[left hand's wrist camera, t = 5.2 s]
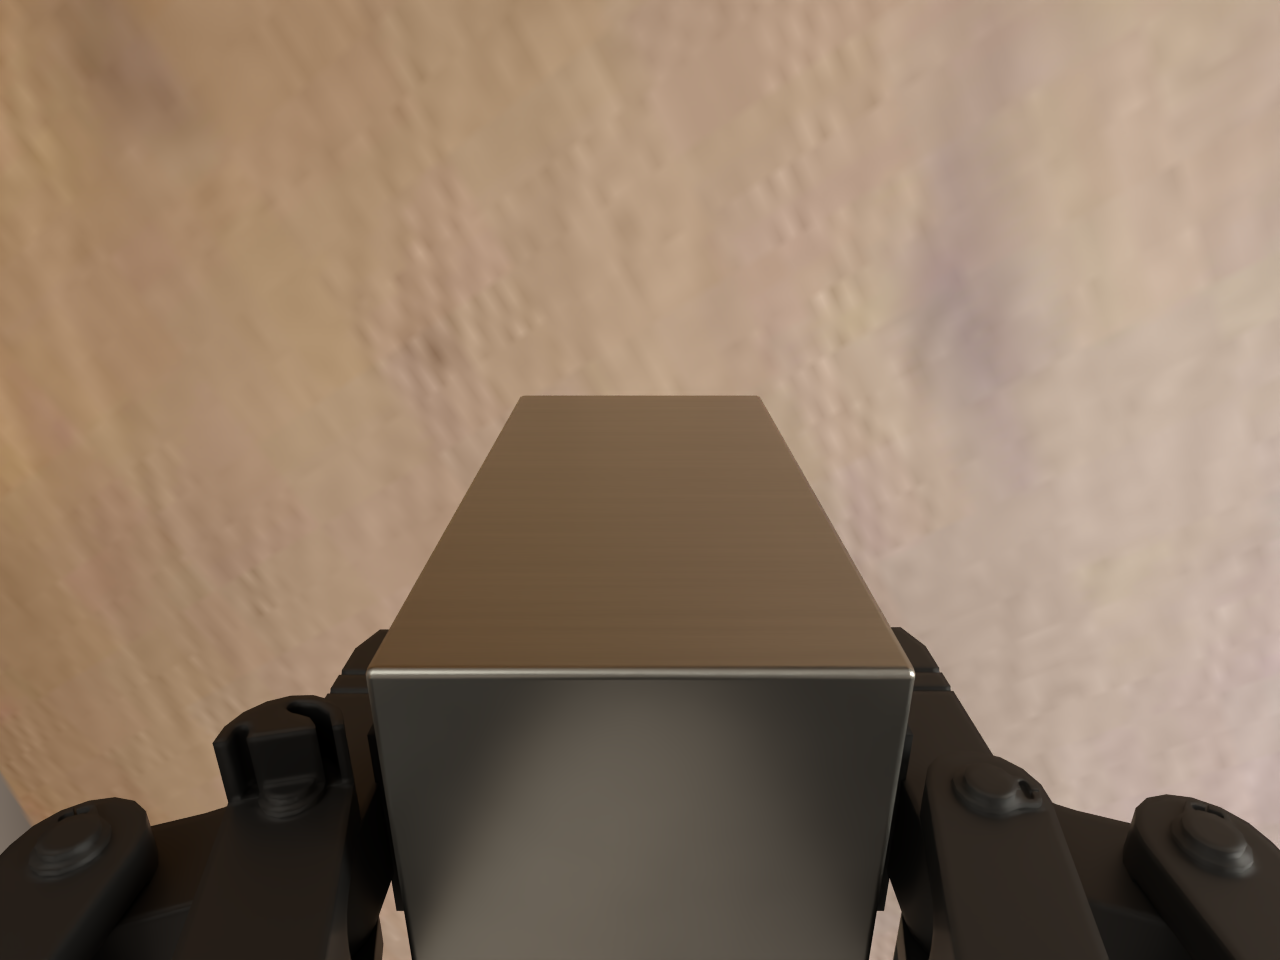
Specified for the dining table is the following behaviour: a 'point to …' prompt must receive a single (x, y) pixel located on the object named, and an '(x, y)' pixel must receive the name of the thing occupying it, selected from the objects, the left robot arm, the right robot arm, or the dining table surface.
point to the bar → (640, 700)
